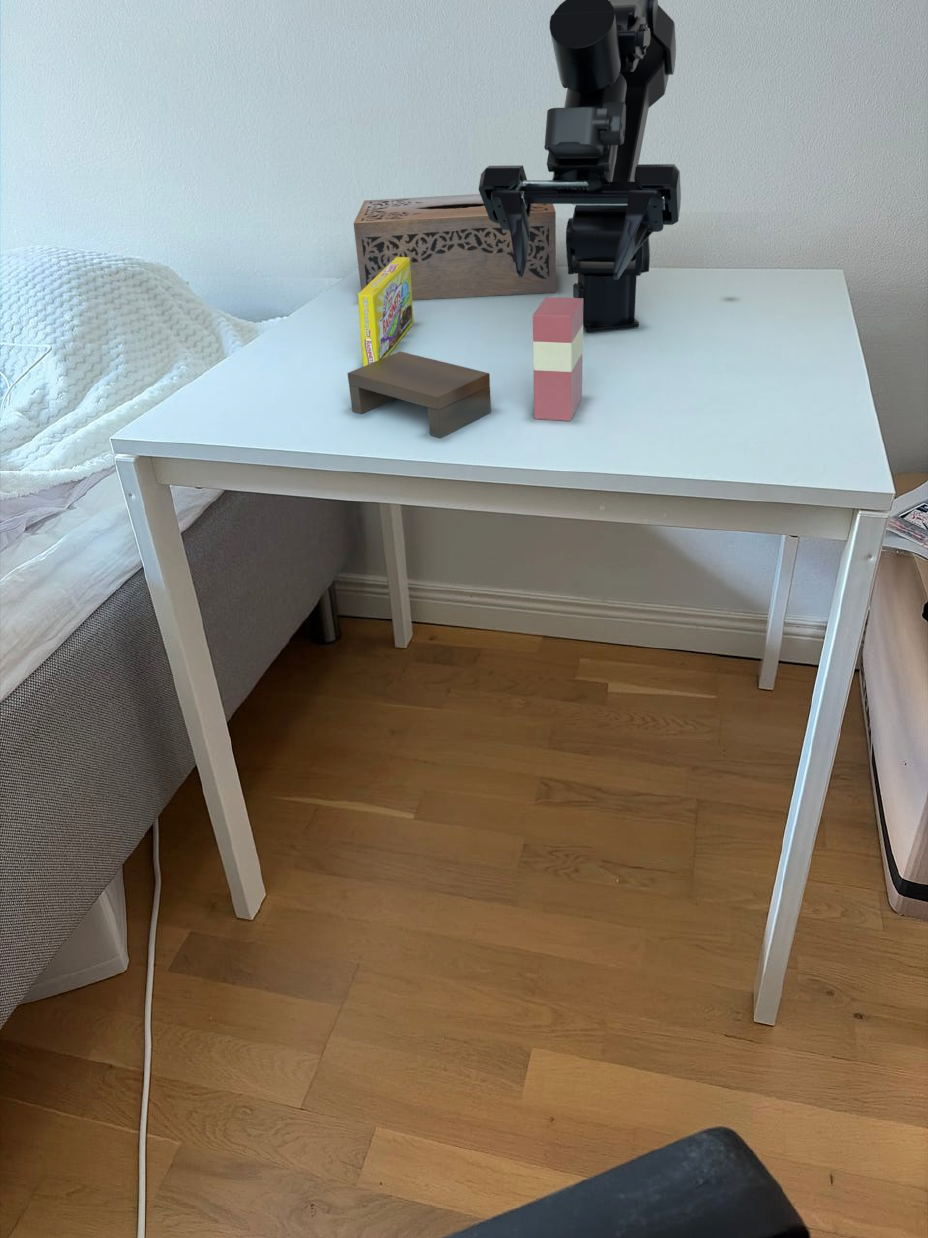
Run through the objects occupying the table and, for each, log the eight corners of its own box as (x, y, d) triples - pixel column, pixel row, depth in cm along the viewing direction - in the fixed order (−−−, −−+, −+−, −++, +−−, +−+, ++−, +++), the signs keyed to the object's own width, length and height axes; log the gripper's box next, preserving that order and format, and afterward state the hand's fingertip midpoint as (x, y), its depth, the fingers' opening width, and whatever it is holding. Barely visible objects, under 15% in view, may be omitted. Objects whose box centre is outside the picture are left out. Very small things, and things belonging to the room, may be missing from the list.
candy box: (381, 370, 106) (372, 294, 101) (362, 370, 106) (353, 294, 102) (416, 324, 119) (410, 255, 114) (399, 324, 119) (393, 255, 115)
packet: (546, 397, 97) (545, 296, 91) (582, 399, 96) (583, 297, 90) (533, 418, 92) (532, 314, 87) (571, 421, 91) (571, 316, 86)
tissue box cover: (548, 264, 139) (548, 189, 133) (555, 292, 127) (555, 211, 121) (372, 273, 140) (364, 200, 134) (362, 302, 128) (353, 223, 122)
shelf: (403, 388, 101) (399, 350, 99) (491, 412, 94) (489, 372, 92) (352, 411, 96) (347, 372, 94) (440, 438, 90) (437, 397, 87)
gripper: (479, 69, 88) (450, 225, 85) (686, 62, 83) (663, 227, 80) (503, 149, 98) (479, 290, 96) (689, 147, 93) (668, 295, 91)
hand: (566, 275), depth 90 cm, fingers open, 9 cm apart
